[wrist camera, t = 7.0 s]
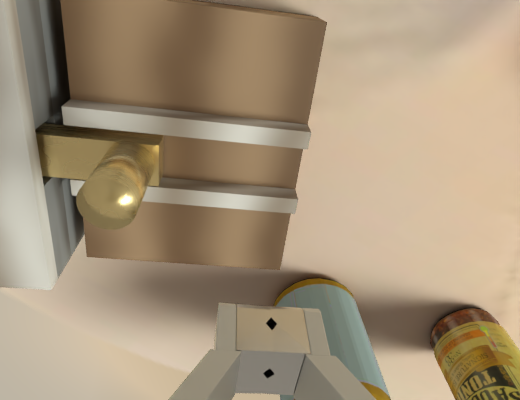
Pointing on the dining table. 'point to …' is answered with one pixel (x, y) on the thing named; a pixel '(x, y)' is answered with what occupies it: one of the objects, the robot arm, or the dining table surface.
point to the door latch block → (156, 127)
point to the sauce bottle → (477, 356)
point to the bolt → (103, 168)
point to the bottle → (339, 329)
